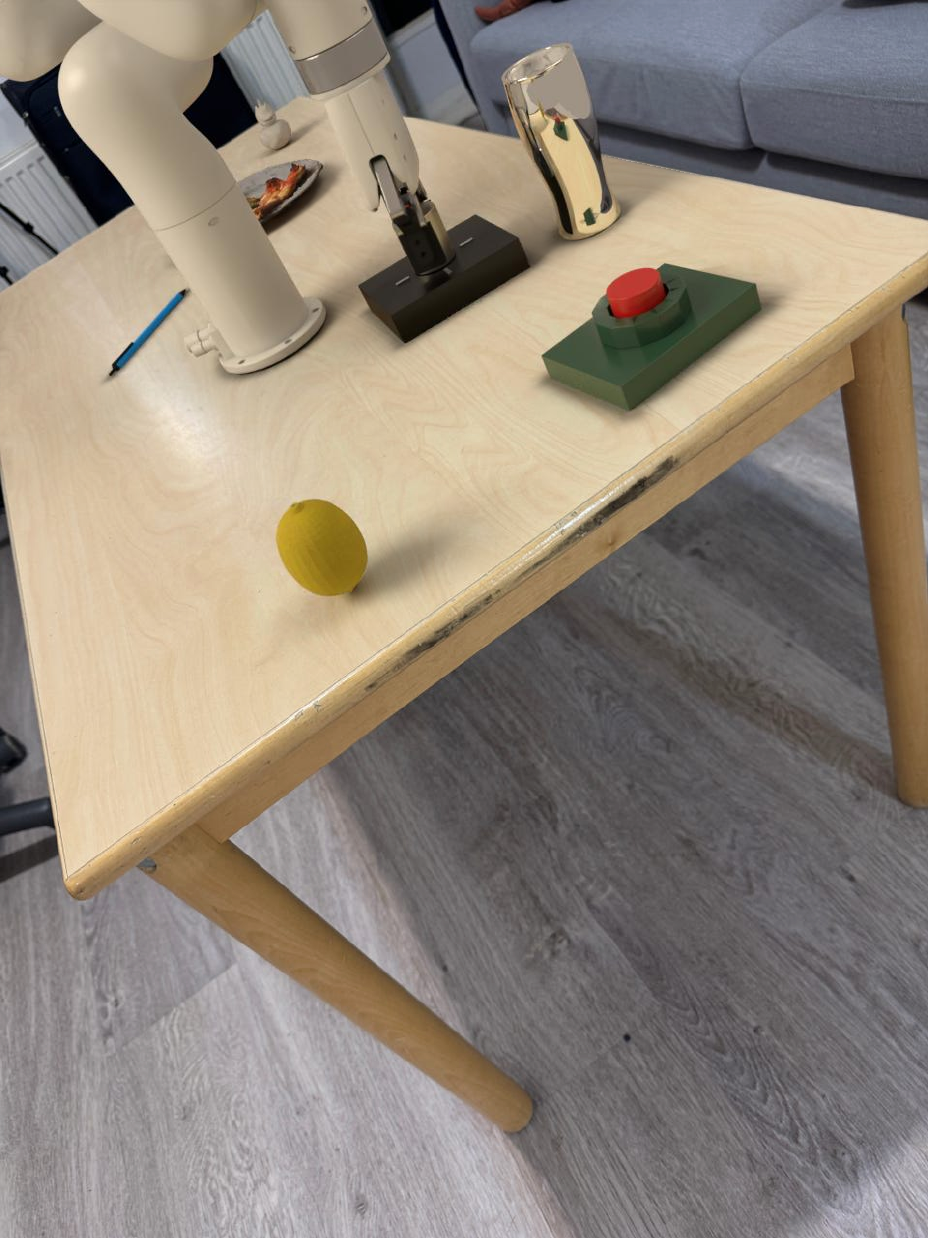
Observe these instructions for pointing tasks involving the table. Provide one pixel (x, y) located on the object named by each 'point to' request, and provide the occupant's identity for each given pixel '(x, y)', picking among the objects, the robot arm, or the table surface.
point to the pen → (145, 334)
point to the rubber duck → (272, 127)
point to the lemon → (321, 547)
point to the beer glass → (562, 138)
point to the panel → (445, 279)
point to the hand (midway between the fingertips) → (431, 254)
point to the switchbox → (651, 337)
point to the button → (635, 292)
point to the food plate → (278, 186)
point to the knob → (434, 218)
